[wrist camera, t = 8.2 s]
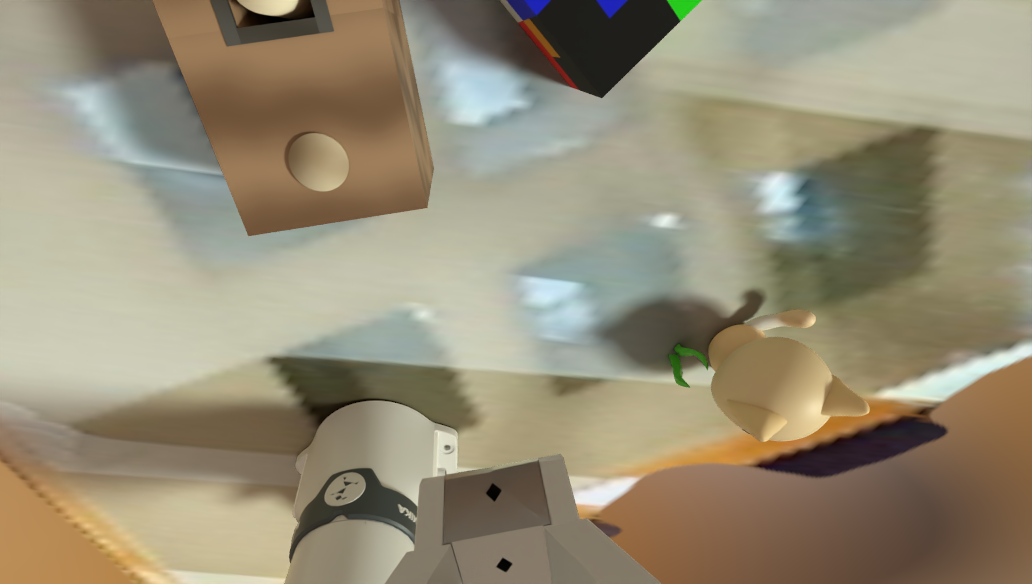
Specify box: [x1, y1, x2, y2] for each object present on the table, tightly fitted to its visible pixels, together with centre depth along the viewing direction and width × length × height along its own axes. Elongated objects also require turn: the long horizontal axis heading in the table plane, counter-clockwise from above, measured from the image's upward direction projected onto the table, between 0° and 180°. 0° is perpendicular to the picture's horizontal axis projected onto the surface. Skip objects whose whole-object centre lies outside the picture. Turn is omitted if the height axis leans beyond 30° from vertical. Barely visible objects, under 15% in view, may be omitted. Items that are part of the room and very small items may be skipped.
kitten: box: [668, 309, 870, 442], centre depth 50 cm, size 15×10×15 cm, turn 104°
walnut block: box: [152, 0, 434, 236], centre depth 34 cm, size 18×12×12 cm, turn 7°
